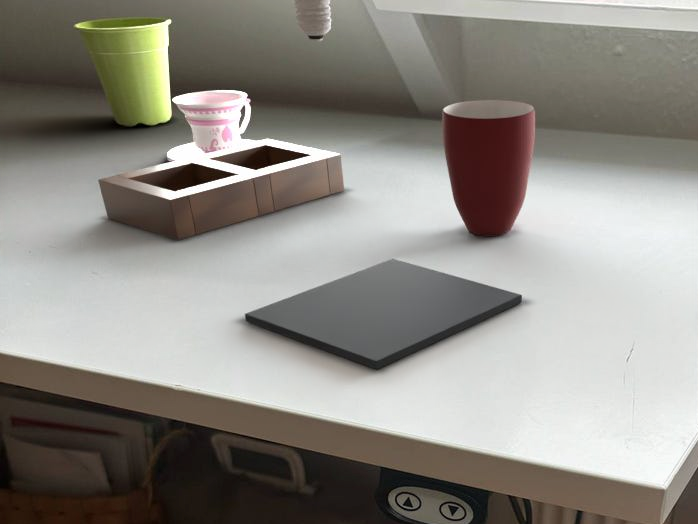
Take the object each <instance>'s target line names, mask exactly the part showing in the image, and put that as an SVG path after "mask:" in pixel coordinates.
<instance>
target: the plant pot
mask: <svg viewBox="0 0 698 524" xmlns="http://www.w3.org/2000/svg"><path fill="white" fill-rule="evenodd" d="M171 23H172V20H171V19H170V18H165V17H154V16H153V17H152V16H151V17H147V16H142V17H141V16H140V17H139V16H138V17H135V16H134V17H115V18H113V17H112V18H101V19H94V20H93V19H92V20H87V21H82V22H76V23H75V24H74V25H73V28H74V29H75V30H77V31H79V34H80V37H81V39H82V41H83V44H84V47H85V49H86V50H87V51H88V52H89V55H90V58H91V61H92V63H93V65H94V68H95V71H96V74H97V76H98V79H99V81H100V84H101V87H102V89H103V91H104V94H105V98H106V100H107V102H108V105H109V107H110V110H111V112H112V116H113V117H114V121H115V122H116V123H117V125H118V124H119V125H120V126H126V127H133V126H134V127H135V126H136V125H138V124H143V125H145V126H156V125H158V124H165V123H167V122H168V121H170V120H171V118H172V103H171V87H170V72H169V71H170V70H169V69H170V68H169V53H168V52H169V51H168V47H169V45H170V44H169V25H170V24H171Z"/></svg>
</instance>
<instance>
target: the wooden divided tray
mask: <svg viewBox="0 0 698 524" xmlns="http://www.w3.org/2000/svg"><path fill="white" fill-rule="evenodd" d="M255 141H256V142H252V143H248V144H244V145H240V146H236V147H232V148H227V149H223V150H219V151H215V152H211V153H207V154H202V155H198V156H194V157H190V158H186V159H182V160H177V161H173V162H171V161H169V162H166V163H160V164H157V165H152V166H149V167H144V168H141V169H136V170H131V171H128V172H127V171H126V172H123V173H119V174H116V175H111V176H107V177H103V178H99V179H98V185H99V189H100V191H101V196H102V200H103V205H104V208H105V213H106V217H107V218H108V219H109V220H113V221H117V222H119V223H122V224H126V225H130V226H132V227H136V228H138V229H141V230H145V231H148V232H151V233H155V234H157V235H161V236H164V237H166V238H169V239H173V240H177V241H181V240H184V239H187V238H190V237H194V236H197V235H200V234H204V233H208V232H210V231H214V230H217V229H220V228H224V227H228V226H230V225H234V224H237V223H241V222H244V221H248V220H251V219H254V218H258V217H260V216H263V215H267V214H271V213H274V212H278V211H280V210H284V209H287V208H291V207H294V206H298V205H301V204H304V203H308V202H310V201H314V200H317V199H321V198H323V197H328V196H331V195H334V194H337V193H340V192H341V193H342V192H345V184H344V176H343V175H344V174H343V173H344V172H343V165H342V163H343V162H342V154H341V153H337V152H332V151H329V150H322V149H319V148H314V147H308V146H305V145H304V146H303V145H299V144H294V143H290V142H285V141H280V140H275V139H270V138H265V139H260V140H255Z"/></svg>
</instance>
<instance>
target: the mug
mask: <svg viewBox="0 0 698 524" xmlns="http://www.w3.org/2000/svg"><path fill="white" fill-rule="evenodd" d="M441 116H442V118H441V119H442V120H441V121H442V122H441V123H442V143H443V150H444V156H445V161H446V166H447V167H446V168H447V172H448V178H449V181H450V188H451V193H452V198H453V202H454V205H455V207H456V210H457V211H458V214H459V216H460V217H461V220H462V221H463V223H464V225H465V228H466V229H467V231H468V232H469V233H470V234H471V235H476V236H481V237H495V236H501V235H505V234H508V233H509V232H510V231H511V230H512V228H513V226H514V225H515V223H516V220H517V218H518V216H519V214H520V212H521V210H522V207H523V206H524V203H525V199H526V194H527V188H528V182H529V176H530V170H531V165H532V159H533V154H534V148H535V136H536V109H535V107H534V106H533V105H532V104H529V103H527V102H522V101H516V100H507V99H476V100H465V101H460V102H456V103H455V102H454V103H451V104H449V105H446V106H444V107H443V108H442V112H441Z"/></svg>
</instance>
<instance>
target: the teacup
mask: <svg viewBox="0 0 698 524" xmlns="http://www.w3.org/2000/svg"><path fill="white" fill-rule="evenodd" d="M247 97H248V94H247V93H246V92H244V91H240V90H231V89H230V90H226V89H221V90H219V89H217V90H205V91H203V90H202V91H195V92H191V93H190V92H189V93H185V94H181V95H178V96H175V97H173V98H172V102H173V103H174V104H175V105H176V108H177V109H178V110H179V111H180V112H182V113H183V114H184V117H185V121H187V123H188V125H190V128H191V132H192V139H193V142H190V143H186V144H181V145H179V146H176V147H173V148H171V149H170V150H169V151H168V152H167V153H166V157H167V161H169V162H173V161H177V160H182V159H186V158H190V157H194V156H198V155H202V154H207V153H211V152H215V151H219V150H223V149H227V148H232V147H236V146H240V145H244V144H248V143H252V142H256V141H257V140H253V139H243V138H241V134H243V133H244V132H245V131H246V129H247V127H248V124H249V123H250V118H251V111H252V110H251V109H252V107H251V104H250V103H251V99H250V98H247ZM243 107H245V113H244V118H243V121H242V123H241V125H239V123H240V118H241V116H242V114H241V110H242V109H243Z"/></svg>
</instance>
